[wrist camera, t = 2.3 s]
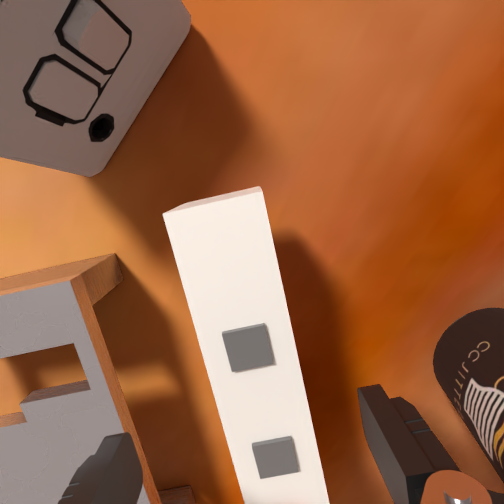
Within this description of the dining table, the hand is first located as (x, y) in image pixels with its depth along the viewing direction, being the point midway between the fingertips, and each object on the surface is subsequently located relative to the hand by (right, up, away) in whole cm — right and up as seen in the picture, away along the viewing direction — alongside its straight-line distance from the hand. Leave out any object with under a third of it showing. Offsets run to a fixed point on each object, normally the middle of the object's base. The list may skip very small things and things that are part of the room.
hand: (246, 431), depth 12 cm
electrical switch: (-8, +15, +6) cm, 18 cm away
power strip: (+1, +2, +9) cm, 9 cm away
